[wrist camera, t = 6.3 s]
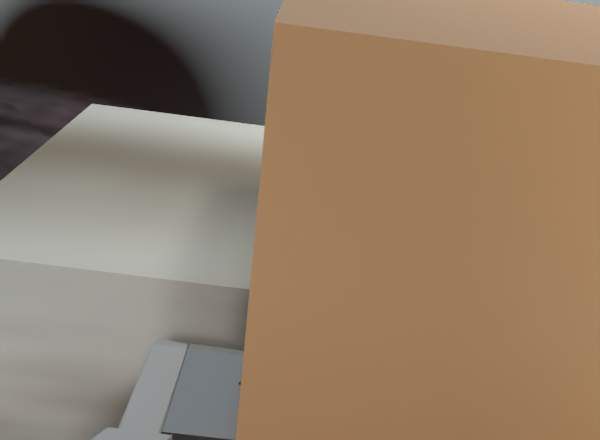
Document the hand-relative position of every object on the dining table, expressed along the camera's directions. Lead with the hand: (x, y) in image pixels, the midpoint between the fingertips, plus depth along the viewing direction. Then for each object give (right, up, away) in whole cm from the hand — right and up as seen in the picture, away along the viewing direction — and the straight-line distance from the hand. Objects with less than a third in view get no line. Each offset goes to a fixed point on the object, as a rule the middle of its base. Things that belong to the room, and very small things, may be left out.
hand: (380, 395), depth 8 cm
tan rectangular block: (-1, -7, +3) cm, 7 cm away
